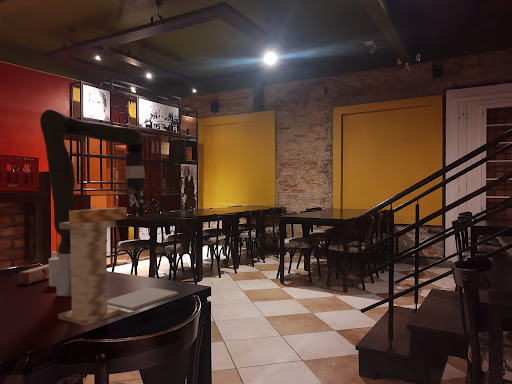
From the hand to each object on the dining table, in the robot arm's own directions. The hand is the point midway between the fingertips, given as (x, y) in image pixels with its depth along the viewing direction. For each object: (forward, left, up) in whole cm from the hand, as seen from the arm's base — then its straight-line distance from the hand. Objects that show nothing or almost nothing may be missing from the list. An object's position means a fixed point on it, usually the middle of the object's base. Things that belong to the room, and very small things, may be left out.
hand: (137, 216), depth 162 cm
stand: (-6, -31, -32) cm, 45 cm away
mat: (+5, -12, -32) cm, 34 cm away
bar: (-4, -27, 0) cm, 27 cm away
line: (-2, -23, -32) cm, 39 cm away
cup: (-41, +12, -32) cm, 53 cm away
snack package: (-55, +22, -32) cm, 67 cm away
